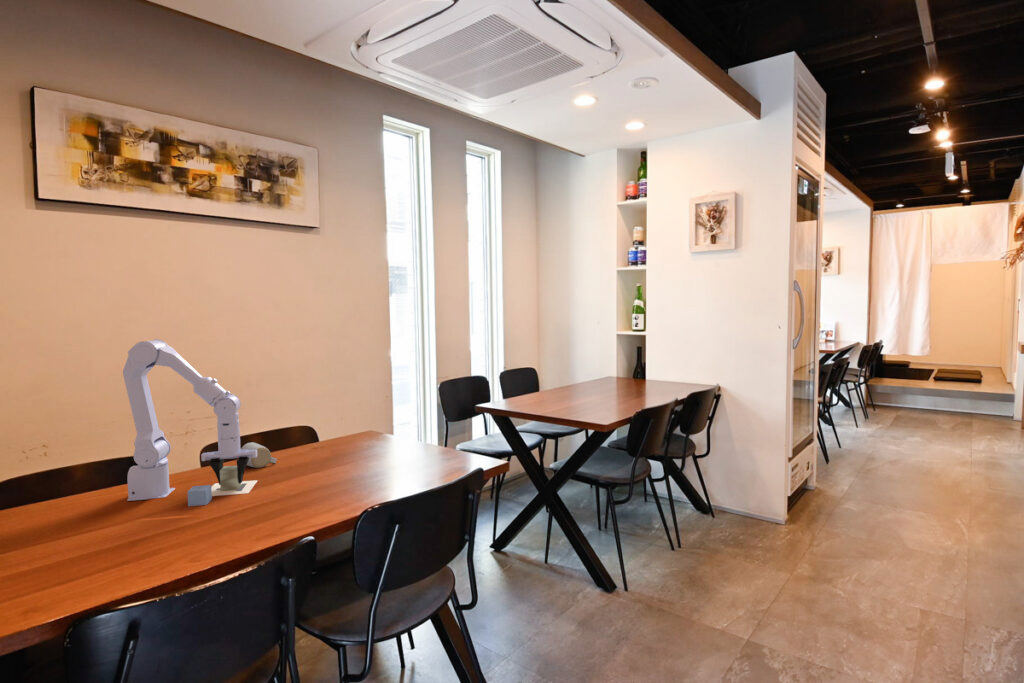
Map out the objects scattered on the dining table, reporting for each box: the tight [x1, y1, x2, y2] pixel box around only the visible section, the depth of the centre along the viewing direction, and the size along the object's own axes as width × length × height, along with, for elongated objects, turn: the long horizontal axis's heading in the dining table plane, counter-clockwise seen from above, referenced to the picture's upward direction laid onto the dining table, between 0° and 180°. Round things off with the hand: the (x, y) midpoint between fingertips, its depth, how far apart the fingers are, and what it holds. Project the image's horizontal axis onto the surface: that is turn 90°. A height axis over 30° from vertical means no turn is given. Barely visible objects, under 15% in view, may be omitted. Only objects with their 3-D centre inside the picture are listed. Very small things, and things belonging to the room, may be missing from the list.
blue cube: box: [187, 484, 213, 507], centre depth 151 cm, size 4×4×4 cm
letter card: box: [211, 479, 259, 497], centre depth 163 cm, size 12×12×1 cm
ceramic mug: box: [240, 441, 277, 469], centre depth 187 cm, size 11×8×8 cm
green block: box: [220, 464, 242, 491], centre depth 163 cm, size 4×4×6 cm
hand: (231, 483), depth 163 cm, fingers closed on green block, 4 cm apart
